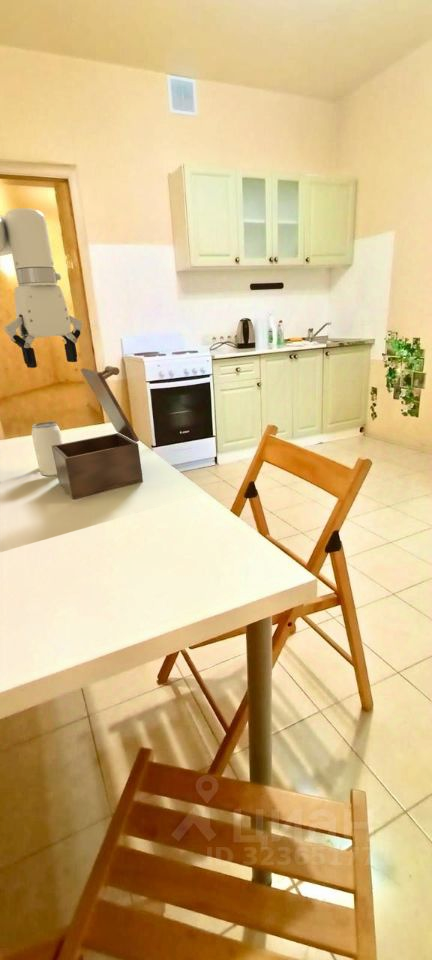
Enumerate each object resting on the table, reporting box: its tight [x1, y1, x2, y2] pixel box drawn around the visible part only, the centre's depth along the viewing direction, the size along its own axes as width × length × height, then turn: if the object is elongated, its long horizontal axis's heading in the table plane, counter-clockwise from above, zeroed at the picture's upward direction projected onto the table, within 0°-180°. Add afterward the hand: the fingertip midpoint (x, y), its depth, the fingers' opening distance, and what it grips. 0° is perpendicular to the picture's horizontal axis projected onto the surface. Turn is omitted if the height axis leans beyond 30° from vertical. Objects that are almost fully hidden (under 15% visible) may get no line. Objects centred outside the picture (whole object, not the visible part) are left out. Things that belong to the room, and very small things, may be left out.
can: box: [31, 421, 64, 477], centre depth 108 cm, size 6×6×12 cm
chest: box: [52, 432, 144, 500], centre depth 100 cm, size 16×13×9 cm
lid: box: [80, 365, 140, 443], centre depth 98 cm, size 16×13×5 cm
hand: (52, 364), depth 98 cm, fingers open, 9 cm apart
